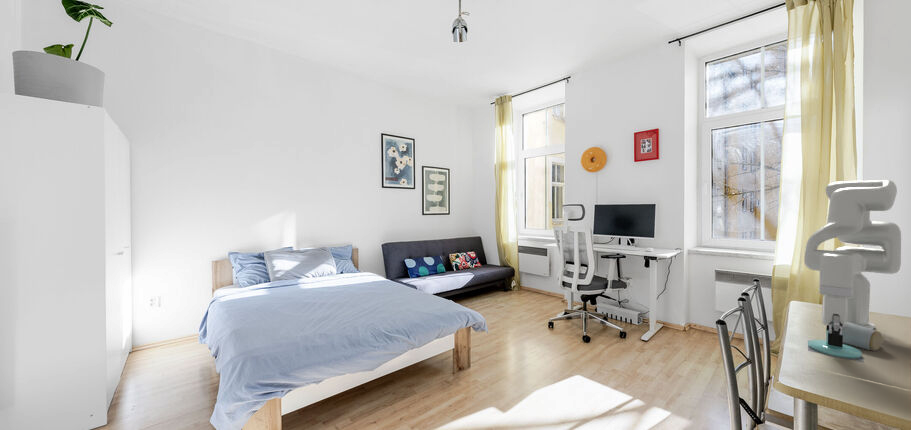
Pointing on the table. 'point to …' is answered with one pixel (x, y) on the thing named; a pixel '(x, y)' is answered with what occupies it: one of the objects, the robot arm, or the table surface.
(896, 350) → the table surface
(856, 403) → the table surface
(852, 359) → the mat
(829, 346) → the lid
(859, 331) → the ceramic mug
